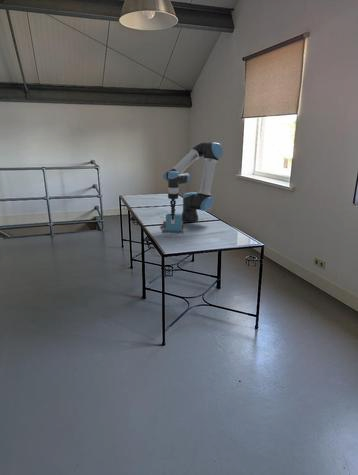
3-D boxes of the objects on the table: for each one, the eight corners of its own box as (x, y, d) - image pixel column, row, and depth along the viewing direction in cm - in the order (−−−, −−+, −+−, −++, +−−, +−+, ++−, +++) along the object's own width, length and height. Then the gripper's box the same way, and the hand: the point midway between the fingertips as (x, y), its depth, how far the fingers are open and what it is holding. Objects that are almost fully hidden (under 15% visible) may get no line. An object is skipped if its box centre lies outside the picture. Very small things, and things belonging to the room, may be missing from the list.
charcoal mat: (162, 228, 254) (162, 227, 254) (183, 229, 254) (183, 228, 254) (161, 232, 243) (161, 232, 243) (183, 233, 244) (183, 232, 243)
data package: (181, 229, 251) (182, 214, 247) (181, 231, 246) (182, 215, 243) (165, 229, 251) (165, 213, 247) (165, 230, 246) (165, 215, 243)
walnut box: (162, 224, 264) (162, 221, 263) (182, 225, 265) (182, 221, 264) (162, 228, 256) (162, 224, 255) (183, 228, 256) (183, 224, 255)
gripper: (168, 190, 252) (168, 217, 258) (167, 196, 228) (167, 225, 235) (178, 190, 252) (177, 217, 258) (178, 196, 228) (177, 226, 235)
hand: (172, 221), depth 246 cm, fingers open, 13 cm apart
